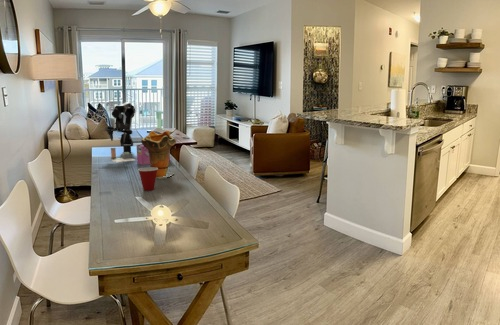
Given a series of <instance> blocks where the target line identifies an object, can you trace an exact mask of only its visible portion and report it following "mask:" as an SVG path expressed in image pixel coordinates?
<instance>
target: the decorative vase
mask: <svg viewBox="0 0 500 325" xmlns="http://www.w3.org/2000/svg"><path fill="white" fill-rule="evenodd" d="M140 142H141V144H143V146H144V147H146V148H147V149H148V152H149V158H150V164H149V165H150V166H149V167H155V168H158V170H157V173H156V179H161V180H163V179H168V178H167V177H163V176H166V174H167V172H168V170H169V173H172V172H171V170H170V161H169V150H171V148H172V147H173V146H174V145H176V143H177V139H176V138H175V137H173V136H172V135H171V133H170V130H165V131H163V132H162V133H156V132H155V131H154V130H151V131H150V132H149V133H148V135H146V136H145V137H143V138H141V141H140ZM170 176H172V175H170ZM170 176H168V177H170ZM172 177H173V176H172ZM170 178H171V177H170Z"/></svg>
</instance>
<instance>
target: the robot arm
mask: <svg viewBox="0 0 500 325" xmlns="http://www.w3.org/2000/svg"><path fill="white" fill-rule="evenodd" d="M112 110H113V111H111V117H113V119H115V122H114V126H111V125H108V126H105V129H104V131H105V132H106V133H107V134H108V136H109V138H110V140H111V142H113V140H114V132H117V133H122V134H121V135H120V139H119V142H120V146H121V147H122V148H123V152H122V154H123V153H124V152H129V153H131V154H133V152H132V147H133V146H134V141H133V138H132V136H131V135H133V130H132V128H131V127H132V120H133V118H134V117H135V114H136V108H135V106H134V105H133V104H131V102H129V101H127V102H123V103H122V104H116V105H115V106H114V108H113V109H112ZM124 121H125V122H124Z"/></svg>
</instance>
